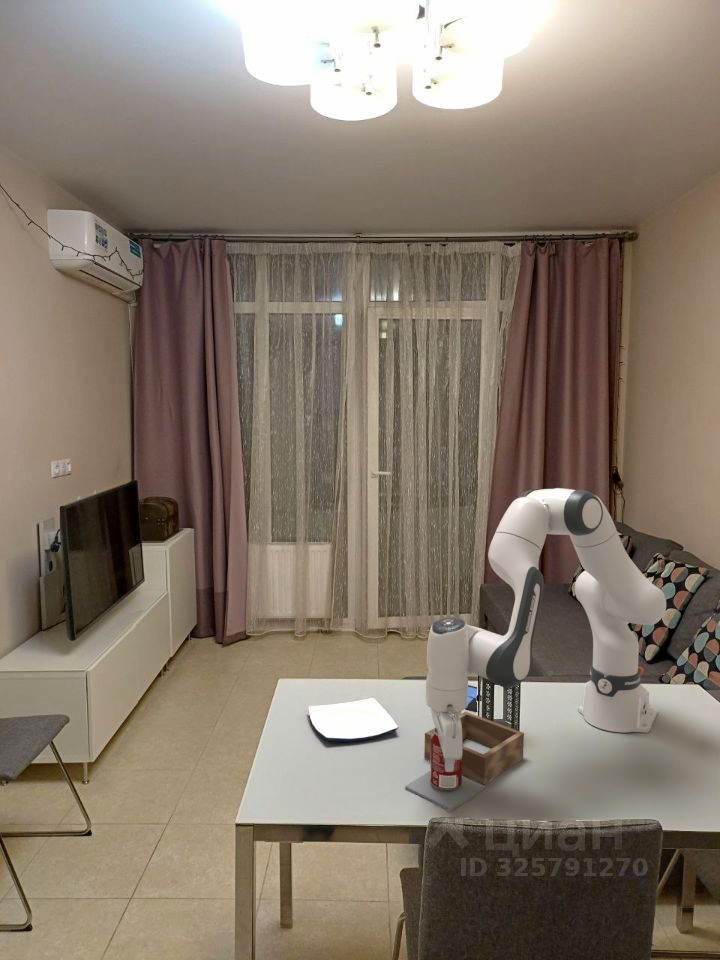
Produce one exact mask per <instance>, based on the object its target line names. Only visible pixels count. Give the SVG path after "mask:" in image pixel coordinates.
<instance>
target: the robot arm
mask: <svg viewBox="0 0 720 960" xmlns="http://www.w3.org/2000/svg"><path fill="white" fill-rule="evenodd" d="M547 535H554V536H559V535H561V536H562V535H563V536H565V535H566V536H569V538H570V540H571V543H572V545H573V548H574V550H575V553H576V555H577V557H578V559H579V563H580V564H581V566H582V568H583V569H584V571H583V572H581V573H580V574H579V575H578V577H577V578H576V580H575V583H574V595H575V597H576V599H577V600H578V602H579V603H580V604H581V605H582V607H583V609H584V612H585V613H586V616H587V618H588V621H589V625H590V629H591V633H592V644H593V645H592V664H591V665H590V671H589V676H590V677H589V678H590V680H588V681H587V682H585V686H584V693H583V701H582V704H580V705H579V706H578V707H577V711H578V712H579V713H580V714H581V715H582V716H583V718H584V720H585V721H586V722H587V723H588V724H590V725H591V726H594V727H596V728H597V729H600V730H604V731H608V732H613V733H614V732H615V733H650V732H651V731H650V730H651V729H652V726H653V724H654V722H655V720H656V718H657V716H658V713H659V712H658V708H656V706H653V705H652V704H650V692H649V691H648V690H647V689H646V688H645V687H644V686H643V685H642V684H641V676H642V675H643V674H644V668H643V667H641V666H639V655H640V654H639V650H640V644H639V641H638V638H637V636H636V635H635V634H634V633H633V632H632V630H631V629H630V627H629V625H628V623H630V624H633V625H634V624H635V625H643V626H654V625H655V624H657V623H659V622H660V621H661V619H662V618H663V617H664V615H665V614H666V610H667V599H666V596H665V593H664V592H663V591H662V590H661V588H659V587H657V586H656V585H655V584H654V583H652V581H650V580H649V579H648V578H647V577H646V576H645V574H643V573H642V572H641V570H640V569H639V568H638V567H637V565H636V564H635V563H634V561H633V560H632V559H631V558H630V556H629V554H628V553H627V551H626V549H625V547H624V545H623V542H622V540H621V537H620V535H619V533H618V531H617V528H616V526H615V523H614V521H613V518H612V516H611V514H610V512H609V511H608V509H607V507H606V506H605V504H604V503H603V501H602V500H601V498H600V497H598V495H596V494H594V493H592V492H590V491H587V490H583V489H576V490H575V489H571V488H562V487H561V488H560V487H556V488H543V489H541V488H533V489H530V490H526V491H524V492H522V493H521V494H520V495H519V496H518V498H516V499H514V500H513V501H512V502H511V504H509V506H508V508H507V509H506V511H505V512H504V514H503V516H502V518H501V520H500V521H499V523H498V525H497V527H496V530H495V533H494V535H493V538H492V540H491V541H490V545H489V547H488V551H487V553H488V554H487V556H488V557H487V558H488V561H489V565H490V567H491V568H492V570H493V572H495V574H496V575H497V576H498V577H499V578H500V579H501V580H503V581H505V583H507V584H508V585H509V586H510V587H511V588H512V590H513V592H514V599H515V600H514V605H513V608H512V613H511V619H510V622H509V627H508V630H507V632H506V633H505V634H504V635H502V634H498V633H495V632H492V631H489V630H487V629H483V628H481V627H477V626H473V625H469V624H467V622H465V620H463V619H461V618H458V617H444V618H443V617H442V618H439V619H438V620H436V621H434V622H433V623H432V624H431V626H430V629H429V632H428V633H429V634H428V638H427V645H426V664H427V665H426V666H427V670H428V671H427V676H426V680H425V704H426V706H427V707H428V708H430V713H431V720H432V721H433V724H434V728H436V731H437V734H438V738H439V742H440V746H441V749H442V752H443V756H444V758H445V760H444V768H445V771H446V772H453V771H454V762H455V760H459V759H461V758H462V724H461V720H460V718H459V715H460V714H462V713H463V712H462V711H464V709H465V708H466V707H467V706H468V685H469V679H468V675H470V674H473V675H476V676H479V677H481V678H484V679H486V680H488V681H490V682H492V683H493V684H496V685H497V686H500V687H501V688H503V689H511V688H514V687H516V686H518V685H519V684H521V683H523V682H524V681H525V680H526V679H527V677H529V673H530V670H531V666H532V653H533V651H532V650H533V642H534V637H535V632H536V627H537V622H538V618H539V613H540V609H541V604H542V599H543V597H542V596H543V592H544V576H543V573H542V572H541V571H540V570H539V561H540V556H541V553H542V550H543V547H544V544H545V541H546V538H547ZM452 737H453V738H452Z"/></svg>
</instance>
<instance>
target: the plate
mask: <svg viewBox="0 0 720 960" xmlns="http://www.w3.org/2000/svg"><path fill="white" fill-rule="evenodd" d="M307 710H308V715H309V720H310V722H311V724H312V726H313V728H314V729H315V730H316V732H317V733H318V734H319V735H320V736H321V737H323V739H325V740H326V741H328V742H356V741H364V740H369V739H375V738H376V739H377V738H379V737H382V736H386V735H388V734H389V735H390V734H391V733H394V732H396V731H397V730H398V729H399V726H398V725H397V723H396V721H394V719H393V717H392V716H391V715H390V713H389V712H387V710H386V709H385V708H384V707H383V706H382V705H381V704H380V703H379V702H378V701H377V700H376V698H375V697H374V698H373V697H370V698H366V699H359V700H355V701H348V702H341V703H333V704H322V705H321V704H320V705H309V706H308V707H307Z"/></svg>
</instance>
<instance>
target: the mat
mask: <svg viewBox="0 0 720 960" xmlns="http://www.w3.org/2000/svg"><path fill="white" fill-rule="evenodd" d="M404 789H405V790H407V791H408V792H411V793H413V794H415V795H417V796H419V797H421V798H423V799H425V800H427V801H429V802H430V803H431V802H432V804H435V805H437V806H439V807H440V808H443V809H445V810H447V811H450V812H452V811H454V810H455V809H457V808H458V807H459V806H461V805H462V804H464V803H465V802H467V801H468V800H470V799H471V798H472V797H474V796H475V795H477V794H478V793H479V792H481V791H482V790H484V789H485V784H482V783H479V782H477V781H475V780H473V779H471V778H468V777H466V776H464V775H462V784H461V786H460V787H459V788H457V789H455V790H452V791H443V790H440V789H438V788H436V787H434V786H433V785H432V784H431V782H430V771H428V772H426V773H424V774H422V775H421V776H420V777H417V778H416V779H415V780H413V781H411V782H410V783H407V784H406V785H405V786H404Z"/></svg>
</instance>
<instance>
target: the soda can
mask: <svg viewBox="0 0 720 960" xmlns="http://www.w3.org/2000/svg"><path fill="white" fill-rule="evenodd" d="M434 728H435V727H434ZM434 728H433V729H434ZM452 738H453V737H452ZM463 746H464V739H462V756H463ZM444 760H445V758H444V756H443V752H442V749H441V746H440V742H439V738H438V734H437V731H436V728H435V729H434V734H433V735H432V737H431V760H429V761H430V764H429V765H430V767H429V768H430V769H429V770H430V782H431V784H432V785H433V786H434V787H436V788H438V789H440V790H443V791H452V790H455V789H457V788H459V787H460V786H461V784H462V776H463V775H462V758H461V759H459V760H455V762H454V771H453V772H446V771H445V768H444Z"/></svg>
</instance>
